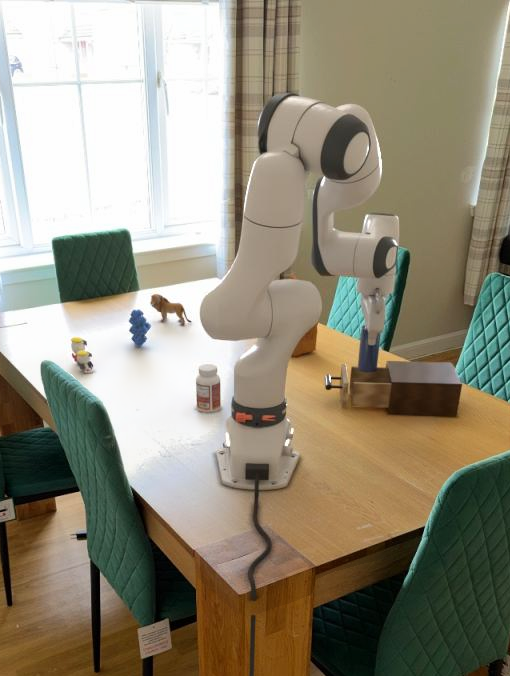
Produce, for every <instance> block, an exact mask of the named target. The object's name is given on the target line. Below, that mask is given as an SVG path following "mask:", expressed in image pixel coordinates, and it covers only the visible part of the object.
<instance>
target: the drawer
mask: <svg viewBox="0 0 510 676" xmlns="http://www.w3.org/2000/svg"><path fill="white" fill-rule="evenodd" d="M350 367H351V368H350V379H349V375H348V369H347V368H348V367H347V363H341V365H340V375H339V376H331V375H330V374H325V376H324V389H325V390H326V391H330V390H332V389H339V399H340V407H341V409H342V410H347V406H348V397H349V396H350V402H351V403H350V404H351V407H355V408H356V407H357V408H384V409H385V408H386V409H387V408H389V400H390V392H391V380H390V376H389V373H388V369H387V367H386V366H377V370H376V371H375V372H370V373H367V372H361V371H359V370H358V365H357V366H356V365H351V366H350ZM332 380H337V381H339V385H337V384H336V385H335V384H334V385H333V384H332Z"/></svg>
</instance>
